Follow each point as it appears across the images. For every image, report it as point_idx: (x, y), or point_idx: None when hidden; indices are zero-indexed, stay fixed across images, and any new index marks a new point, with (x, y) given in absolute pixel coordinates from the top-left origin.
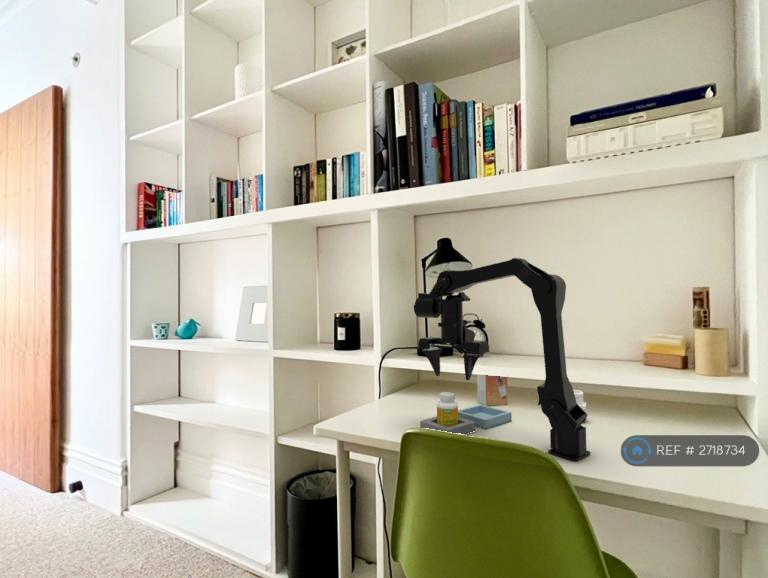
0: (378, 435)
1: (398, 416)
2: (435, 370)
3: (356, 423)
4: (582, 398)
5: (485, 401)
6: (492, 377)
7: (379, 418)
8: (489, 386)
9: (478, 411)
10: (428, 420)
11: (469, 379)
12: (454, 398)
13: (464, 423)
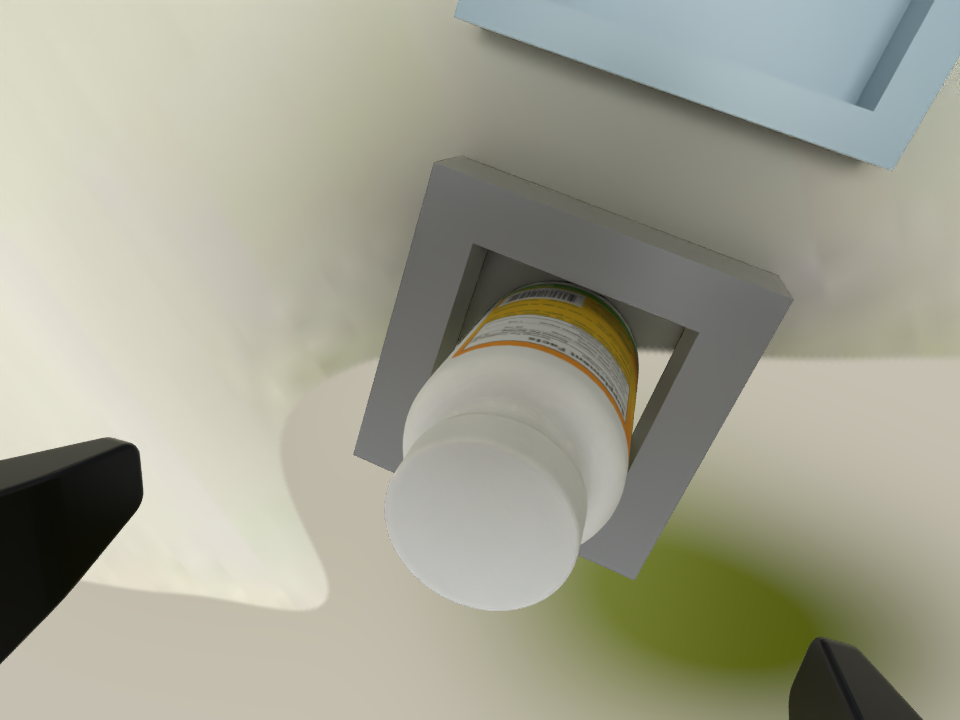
0: (245, 578)
1: (79, 193)
2: (41, 603)
3: (23, 448)
4: None
5: None
6: None
7: (32, 303)
8: None
9: None
10: (398, 422)
11: (852, 658)
12: (586, 513)
13: (701, 381)
